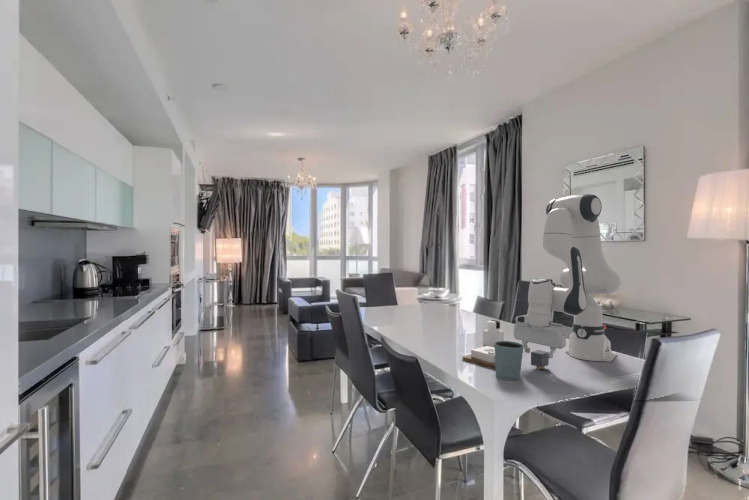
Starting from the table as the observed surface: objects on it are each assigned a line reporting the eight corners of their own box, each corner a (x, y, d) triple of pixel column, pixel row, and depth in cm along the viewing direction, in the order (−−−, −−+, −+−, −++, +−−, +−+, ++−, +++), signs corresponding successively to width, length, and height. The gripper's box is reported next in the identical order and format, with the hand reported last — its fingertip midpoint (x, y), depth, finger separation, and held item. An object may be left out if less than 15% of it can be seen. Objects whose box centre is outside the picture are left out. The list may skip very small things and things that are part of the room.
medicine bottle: (491, 342, 197) (491, 318, 197) (503, 345, 192) (504, 321, 192) (482, 345, 193) (482, 320, 193) (495, 348, 187) (495, 322, 187)
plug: (540, 365, 160) (540, 349, 160) (550, 367, 157) (550, 351, 157) (530, 368, 156) (530, 352, 156) (541, 371, 153) (541, 354, 152)
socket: (486, 352, 173) (486, 344, 173) (509, 358, 165) (509, 349, 165) (471, 356, 166) (471, 348, 166) (493, 363, 158) (493, 354, 158)
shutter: (489, 350, 168) (489, 348, 168) (495, 352, 166) (495, 350, 166) (484, 352, 166) (484, 350, 166) (490, 353, 163) (490, 351, 163)
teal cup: (490, 372, 151) (490, 340, 151) (515, 371, 152) (516, 340, 152) (500, 381, 141) (500, 347, 141) (528, 380, 142) (528, 347, 142)
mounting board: (485, 353, 177) (485, 350, 177) (518, 362, 164) (518, 358, 164) (462, 360, 167) (462, 356, 167) (495, 369, 154) (495, 365, 154)
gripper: (569, 323, 149) (568, 360, 149) (520, 315, 166) (519, 348, 166) (561, 325, 146) (560, 362, 146) (511, 316, 162) (510, 350, 162)
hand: (538, 355), depth 156 cm, fingers open, 8 cm apart
